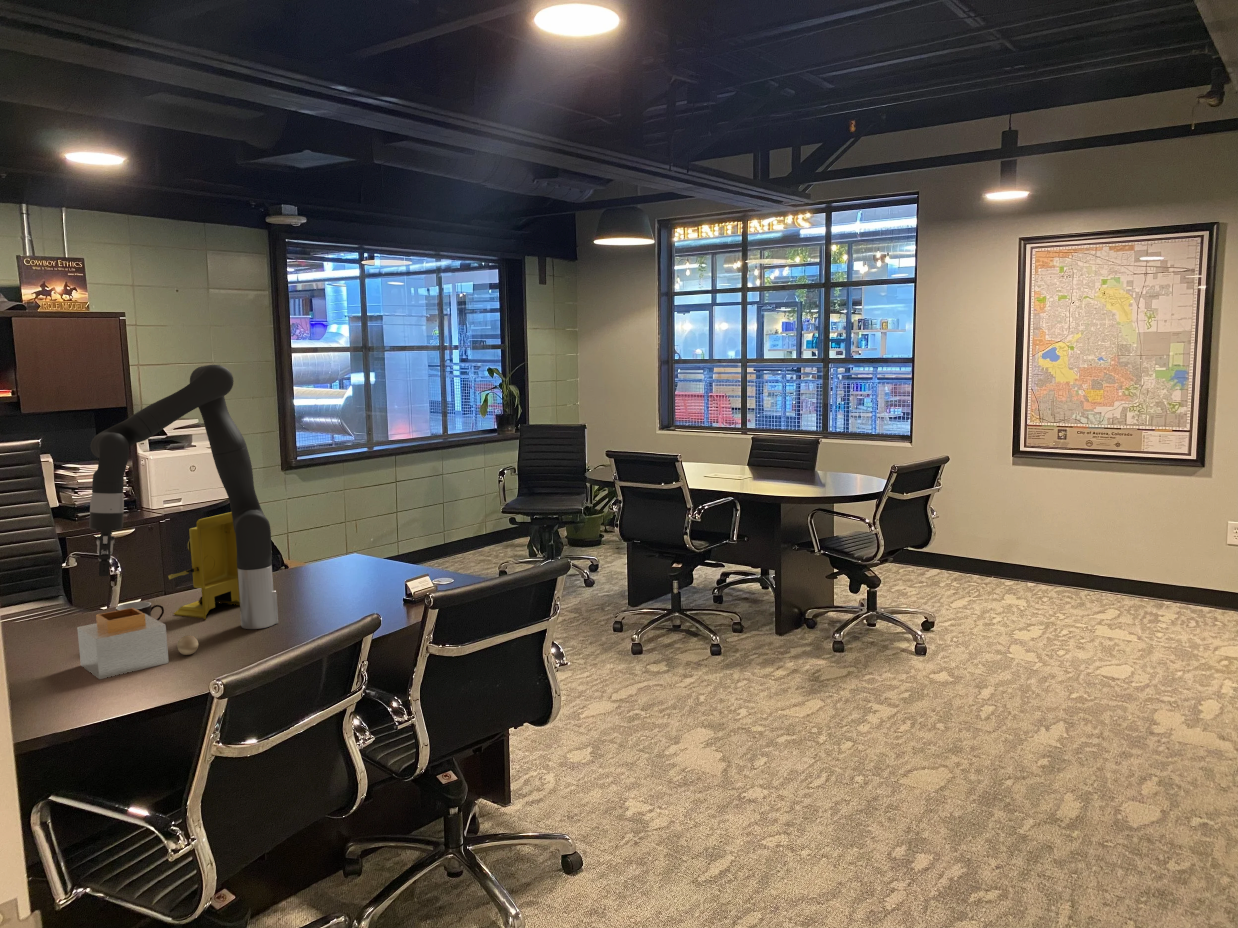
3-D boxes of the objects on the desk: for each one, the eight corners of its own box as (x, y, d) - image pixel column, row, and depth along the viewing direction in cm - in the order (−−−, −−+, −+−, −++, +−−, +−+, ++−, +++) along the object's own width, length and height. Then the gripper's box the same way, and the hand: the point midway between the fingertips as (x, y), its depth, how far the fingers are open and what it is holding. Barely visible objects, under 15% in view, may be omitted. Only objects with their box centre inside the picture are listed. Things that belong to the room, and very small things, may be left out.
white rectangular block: (147, 650, 245) (143, 602, 244) (168, 662, 235) (164, 613, 233) (80, 665, 234) (76, 615, 233) (99, 679, 224) (94, 627, 222)
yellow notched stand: (233, 594, 301) (226, 503, 297) (267, 597, 296) (261, 505, 292) (154, 621, 272) (146, 521, 268) (191, 625, 267) (183, 523, 263)
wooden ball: (194, 650, 245) (193, 631, 244) (202, 654, 241) (200, 635, 241) (175, 654, 241) (173, 636, 241) (182, 658, 238) (180, 640, 237)
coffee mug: (118, 648, 247) (115, 611, 246) (119, 639, 255) (115, 604, 254) (166, 641, 253) (163, 605, 251) (165, 633, 260) (163, 598, 259)
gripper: (123, 512, 232) (120, 577, 232) (123, 508, 244) (120, 570, 244) (89, 512, 228) (86, 578, 228) (90, 508, 241) (88, 570, 241)
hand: (104, 574), depth 236 cm, fingers open, 8 cm apart
